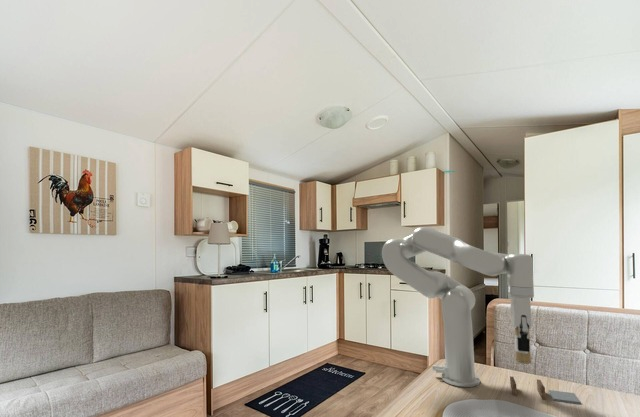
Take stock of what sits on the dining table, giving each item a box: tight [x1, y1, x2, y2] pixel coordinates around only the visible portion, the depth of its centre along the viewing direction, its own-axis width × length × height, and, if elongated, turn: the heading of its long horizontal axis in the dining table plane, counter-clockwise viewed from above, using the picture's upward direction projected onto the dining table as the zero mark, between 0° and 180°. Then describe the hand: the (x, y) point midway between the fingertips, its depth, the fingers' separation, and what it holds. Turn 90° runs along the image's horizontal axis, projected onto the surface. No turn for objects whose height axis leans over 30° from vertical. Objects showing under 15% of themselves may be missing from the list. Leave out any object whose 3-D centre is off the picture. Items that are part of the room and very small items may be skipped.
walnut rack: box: [509, 376, 547, 401], centre depth 115 cm, size 9×7×4 cm
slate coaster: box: [547, 389, 582, 405], centre depth 111 cm, size 7×7×1 cm
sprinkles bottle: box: [514, 325, 532, 365], centre depth 117 cm, size 5×5×14 cm
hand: (522, 348), depth 116 cm, fingers closed on sprinkles bottle, 4 cm apart
